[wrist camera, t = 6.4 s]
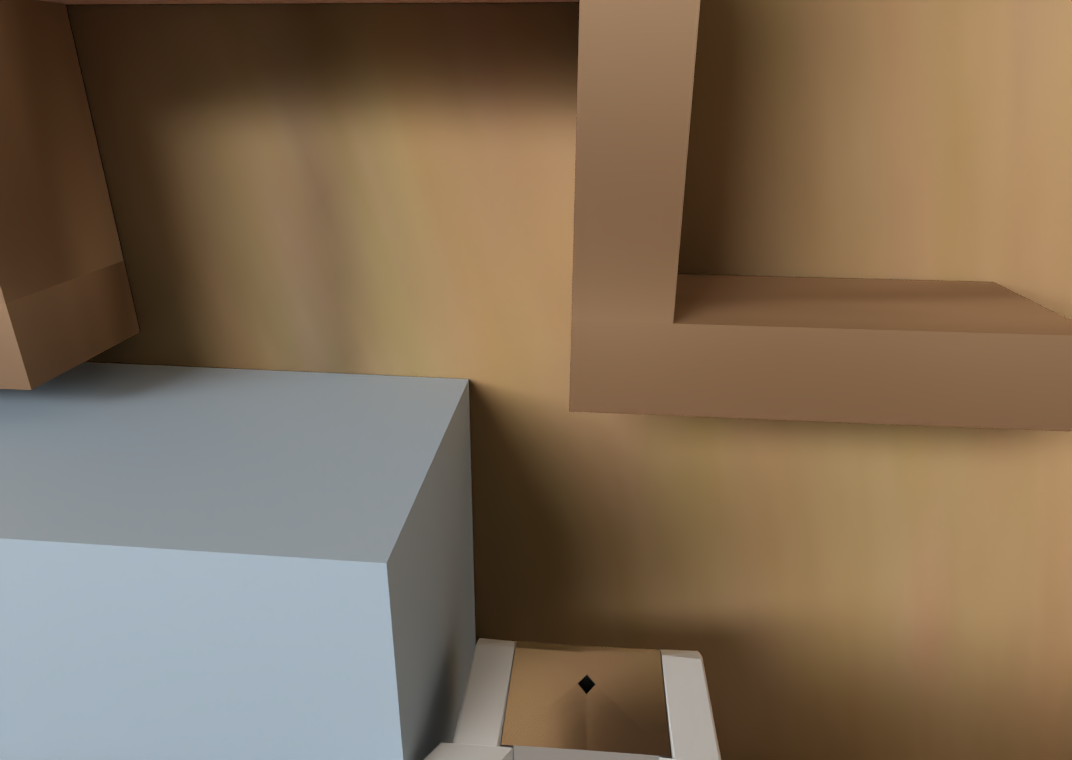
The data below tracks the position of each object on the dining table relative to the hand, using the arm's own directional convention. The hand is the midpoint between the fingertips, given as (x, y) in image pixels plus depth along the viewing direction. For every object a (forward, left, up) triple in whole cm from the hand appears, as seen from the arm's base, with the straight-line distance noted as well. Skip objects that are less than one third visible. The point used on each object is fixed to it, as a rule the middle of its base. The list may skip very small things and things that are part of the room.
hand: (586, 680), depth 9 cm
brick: (-1, -6, -2) cm, 6 cm away
